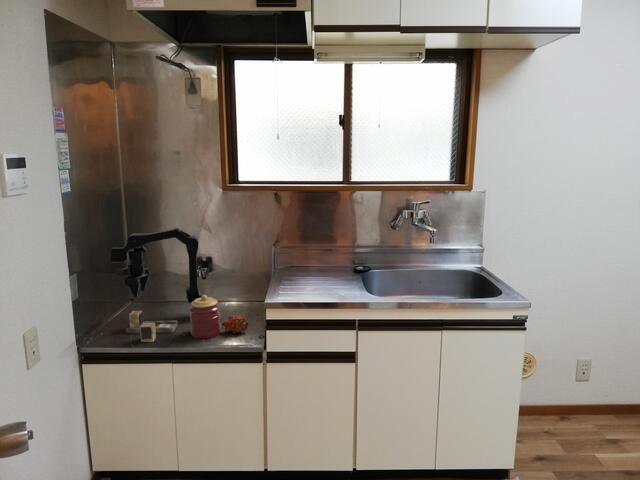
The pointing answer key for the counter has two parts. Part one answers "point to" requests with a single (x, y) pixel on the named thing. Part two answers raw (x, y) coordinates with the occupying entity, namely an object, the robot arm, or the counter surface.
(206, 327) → the canister
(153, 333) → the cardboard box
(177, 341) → the counter surface
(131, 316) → the slider rail with block
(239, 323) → the dragon fruit
